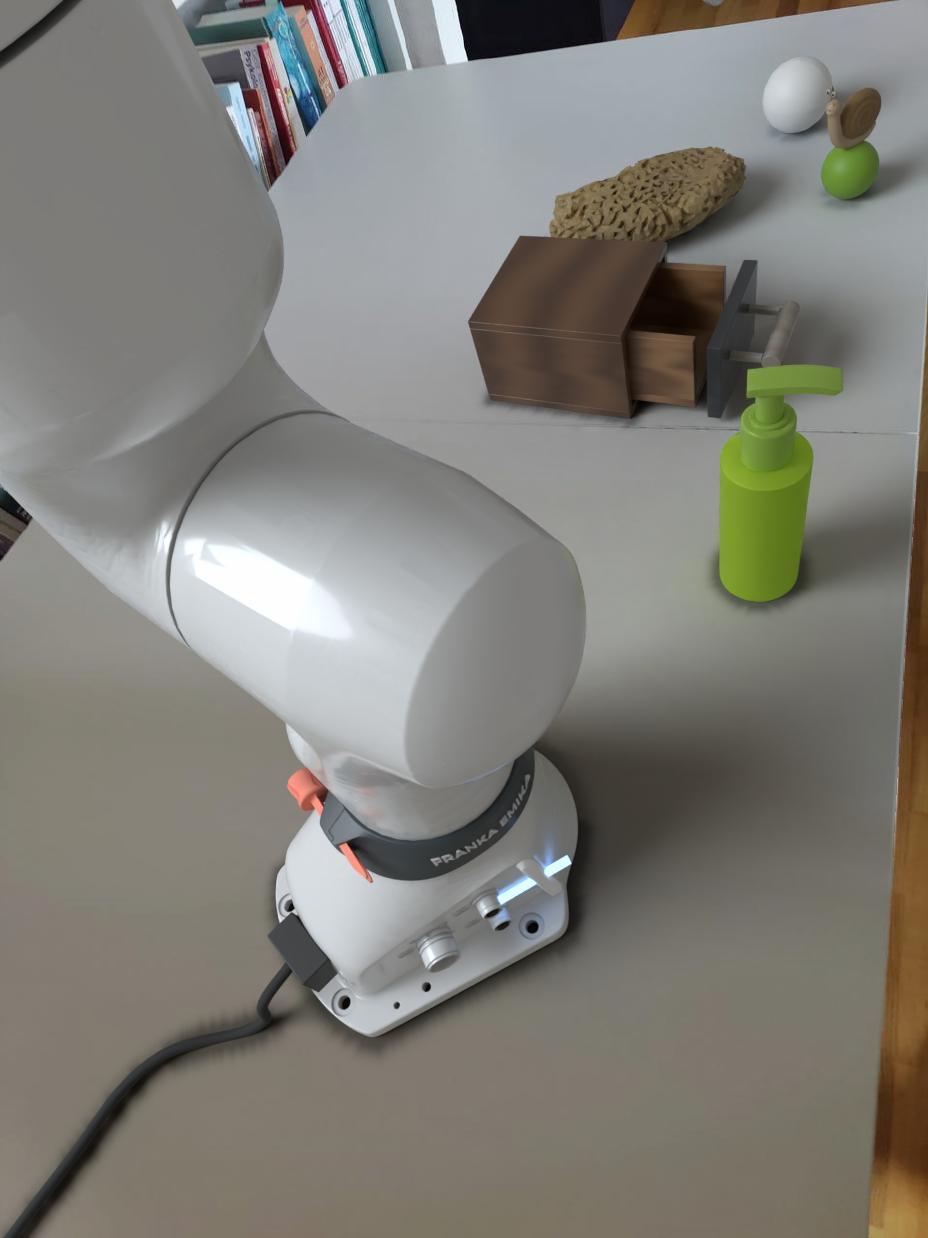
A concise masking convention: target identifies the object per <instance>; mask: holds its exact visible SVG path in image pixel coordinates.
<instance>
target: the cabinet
mask: <svg viewBox="0 0 928 1238" xmlns="http://www.w3.org/2000/svg"><path fill="white" fill-rule="evenodd" d="M661 262H668V263H669V259H668V243H667V242H666V241H664V242H647V241H626V240H604V239H583V238H562V237H551V236H541V235H539V236H538V235H536V236H535V235H519V236H518V238H517V240H516V241H515V242H514V244H513V246H512V248H511V249H510V251H509V253H508V254H507V256H506V258H505V259H504V261H503V262H502V264H501V265H500V268H498V271H497V272H496V273H495V276H494V277H493V279H492V281H491V282H490V284H489V286H488V287H487V289H486V291H484V293H483V296H482V297H481V299H480V300H479V302H478V303H477V306H476V307H475V309H474V310H473V312H472V313H471V316H470V317H469V318H468V320H467V324H468V328H469V331H470V334H471V338H472V341H473V345H474V349H475V352H476V356H477V359H478V362H479V365H480V369H481V373H482V375H483V380H484V383H485V386H486V391H487V393H488V397H489V400H490V401H497V402H505V403H511V404H519V405H526V406H533V407H541V408H547V409H555V410H562V411H571V412H577V413H584V414H591V415H598V416H599V415H600V416H607V417H614V418H621V419H622V418H623V419H629V420H630V419H631V418H632V416H633V414H634V412H635V409H636V407H637V405H638V403H639V400H634V399H631V392H630V382H629V373H628V363H627V354H626V344H625V336H626V334H627V331H628V329H629V327H630V325H631V323H632V321H633V319H634V317H635V315H636V313H637V311H638V309H639V307H640V305H641V303H642V300H643V298H644V296H645V294H646V292H647V290H648V288H649V286H650V284H651V282H652V280H653V278H654V276H655V274H656V272H657V269H658V267H659V265H660V263H661Z"/></svg>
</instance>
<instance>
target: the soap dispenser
mask: <svg viewBox="0 0 928 1238" xmlns="http://www.w3.org/2000/svg"><path fill="white" fill-rule="evenodd" d="M746 373H747V375H746V399H755V401H754V403H751V404H750V405H749V406H747V407H746V408H745V409H744V411H743V412H742V413H741V416H740V423H739V424H740V425H739V431H738V432H737V433H735V434H734V435H732V436H731V437H730V438H729V439H728V440H727V441H726V442H725V444H723V446H722V448H721V451H720V454H719V531H718V532H719V537H718V538H719V541H718V543H719V546H718V547H719V550H718V552H719V553H718V554H719V557H718V559H719V560H718V563H719V564H718V568H719V570H718V572H719V574H718V575H719V578H720V579H719V580H721V583H722V585H723V586H724V588H725V589H726V590H727V592H729V593H730V594H732V595H733V596H735V597H737V598H739V599H741V600H744V601H748V602H757V603H764V602H769V601H770V602H771V601H773V600H776V599H779V598H781V597H783V596H785V595H786V594H788V592H790V590H792V589H793V587H794V586H795V584H796V582H797V580H798V576H799V570H800V562H801V555H802V547H803V540H804V532H805V525H806V519H807V517H806V516H807V511H808V503H809V495H810V489H811V488H810V487H811V480H812V474H813V473H812V472H813V465H814V449H813V447H812V445H811V443H810V441H809V440H808V439H807V438H806V437H805V436H804V435H803V434H802V433H800V432H799V431H797V426H798V425H797V424H798V423H797V422H798V415H797V412H796V410H795V409H794V408H793V406H791V405H790V404H789V403H787V402H785V400H786V399H785V398H786V396H791V395H821V396H823V395H824V396H833V397H835V396H837V395H839V394H841V393H842V392H843V391H844V377H843V375H844V374H843V369H842V368H840V367H836V366H827V365H818V364H786V365H784V364H783V365H780V366H773V367H765V368H764V367H757V368H751V369H750V368H748V369H747V372H746Z"/></svg>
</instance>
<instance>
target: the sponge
mask: <svg viewBox="0 0 928 1238" xmlns="http://www.w3.org/2000/svg"><path fill="white" fill-rule="evenodd" d="M746 169H747V166H746V164H745V159H744V158H742V157H737V156H735V155H732V154H731V153H727V151H726V149H724V148H721V147H718V146H715V147H713V146H707V147H689V148H684V149H681V150H674V151H670V152H665V153H661V154H660V153H659V154H656V155H654V156H652V157H648V158H643V159H640V160H637V162H635V163H634V165H633V166H632V165H628V166H625V168H623V169H622V170H621V171H620V172H619V173H617V174H615V176H611V177H607V178H605V179H602V180H594V181H592V182H589V183H587V184H585V185H583V186H581V187H579V188H577V189H576V190H573V191H567V192H565V193H562V194H558V195H556V196H555V200H554V209H553V211H552V214H553V216H554V218H553V219H552V220H550V222H549V226H548V230H549V236H550V237H562V238H583V239H604V240H626V241H647V242H666V241H667V240H670V239H673V238H674V237H677V236H679V235H681V234H685V233H688V232H689V231H690V230H692V229H693V228H695V227H696V226H697V225H699V224H701V223H702V222H703V221H705V220H706V219H708V218H710V216H711V215H713V214H715V213H716V212H717V211H719V210H720V209H722V208H723V207H725V206H727V205H728V204H729V202H731V201H732V200H733V199H734V198H735V197H736V195H738V193H739V192H740V191H741V190H742V189H743V186H744V185H745V180H746V179H747V178H746Z"/></svg>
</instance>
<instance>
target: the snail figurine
mask: <svg viewBox="0 0 928 1238" xmlns="http://www.w3.org/2000/svg"><path fill="white" fill-rule="evenodd" d="M826 94H827V95H828V105H827V107H826V111H825V114H826V116H827V132H828V136H829V140H830V142H831V144H832V145H833V146H834V147H833V148H831V150H830V151H829V152H828V154H827V155H826V156H825V158H824V160H823V163H822V165H821V170H820V177H821V179H820V180H821V184H822V186H823V188H824V189H825V191H826V192H827V194H829V195H830V196H832V197H834V198H837V199H838V200H839V199H840V200H850V199H853V198H857V197H859V196H861V195H863V194H864V193H865V192H866V191H868V189H870V187H871V186H872V185H873V184H874V182H875V180H876V178H877V176H878V174H879V171H880V157H879V153H878V151H877V149H876V148H875V147H874V145H873V144H872V143H870V142H869V141H867V138H868V137H870V136H871V134H872V132H873V131H874V129H875V127H876V125H877V119H878V118H879V115H880V112H881V109H882V96H881V93H880V92H879V90H877V89H876V88H874V87H864V88H861V89H859V90H858V91H856V92H855V93H853V94H852V95H851V96H850V97H849V98H848V99H847V100H846V102H845V103H844V104H843V106H842V102H841V100H839V99H837V96H838V91H837V90H834V91H833V92H832V89H828V90H827V92H826ZM829 95H831V96H832V97H831V98H832V99H831V101H830V102H829ZM835 98H836V99H835Z"/></svg>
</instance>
